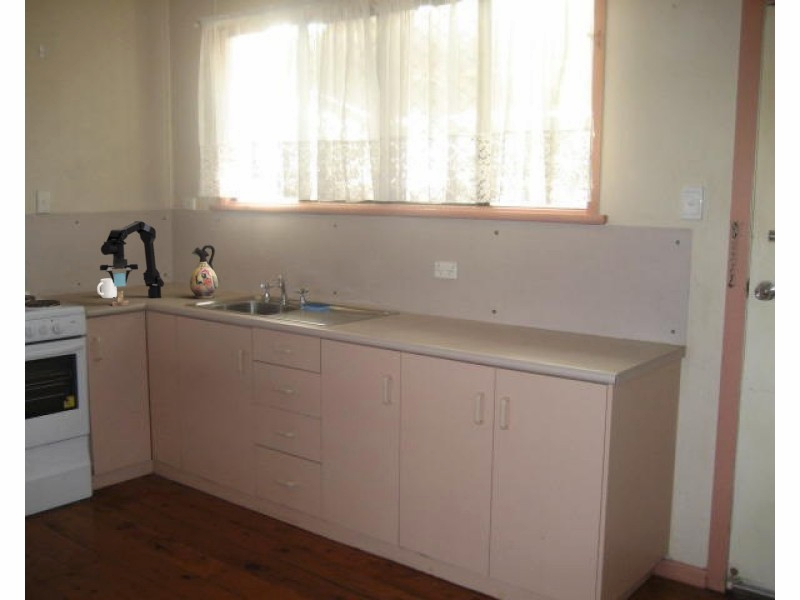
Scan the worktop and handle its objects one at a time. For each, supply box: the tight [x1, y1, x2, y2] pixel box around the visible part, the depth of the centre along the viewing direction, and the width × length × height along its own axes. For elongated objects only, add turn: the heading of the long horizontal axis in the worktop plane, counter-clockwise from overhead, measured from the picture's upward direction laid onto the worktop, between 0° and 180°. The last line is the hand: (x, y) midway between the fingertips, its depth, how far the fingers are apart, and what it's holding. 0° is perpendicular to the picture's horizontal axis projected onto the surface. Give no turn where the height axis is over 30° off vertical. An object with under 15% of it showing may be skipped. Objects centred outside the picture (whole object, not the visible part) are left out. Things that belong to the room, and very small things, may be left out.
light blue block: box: [113, 272, 127, 287], centre depth 419 cm, size 6×6×7 cm
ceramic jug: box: [189, 244, 219, 300], centre depth 446 cm, size 17×15×30 cm
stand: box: [112, 290, 130, 307], centre depth 421 cm, size 8×8×7 cm
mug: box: [96, 277, 118, 299], centre depth 446 cm, size 12×8×10 cm
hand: (119, 283), depth 420 cm, fingers closed on light blue block, 6 cm apart
